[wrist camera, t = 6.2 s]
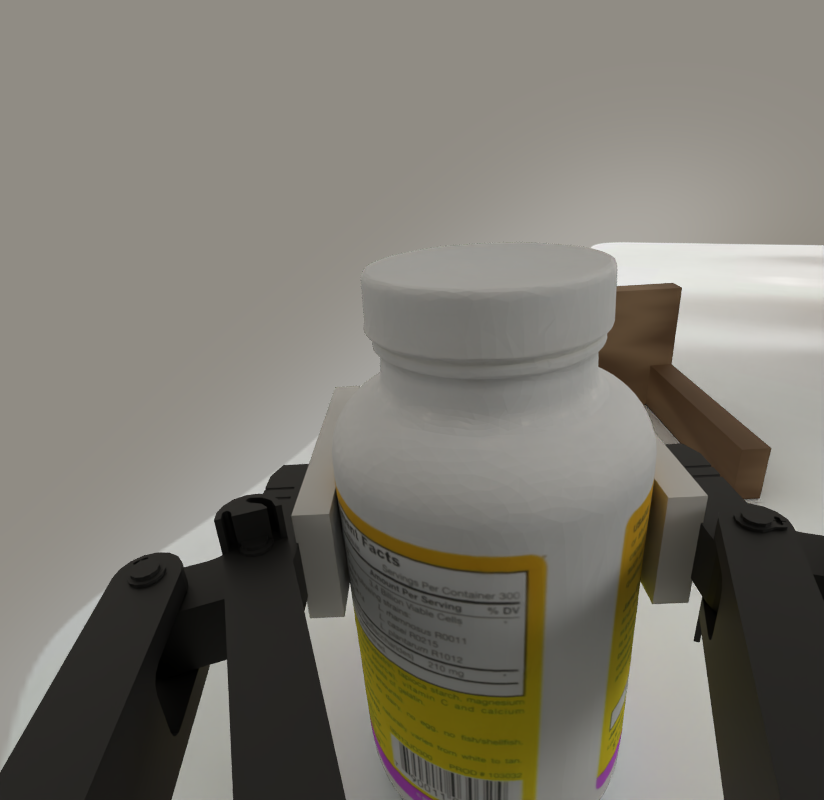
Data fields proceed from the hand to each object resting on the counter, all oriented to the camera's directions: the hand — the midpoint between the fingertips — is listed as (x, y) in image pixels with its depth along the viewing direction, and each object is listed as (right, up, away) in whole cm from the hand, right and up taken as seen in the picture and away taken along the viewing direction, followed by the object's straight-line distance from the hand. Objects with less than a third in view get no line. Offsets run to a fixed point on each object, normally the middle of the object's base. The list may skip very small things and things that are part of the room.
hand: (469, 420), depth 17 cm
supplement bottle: (0, -9, -2) cm, 9 cm away
